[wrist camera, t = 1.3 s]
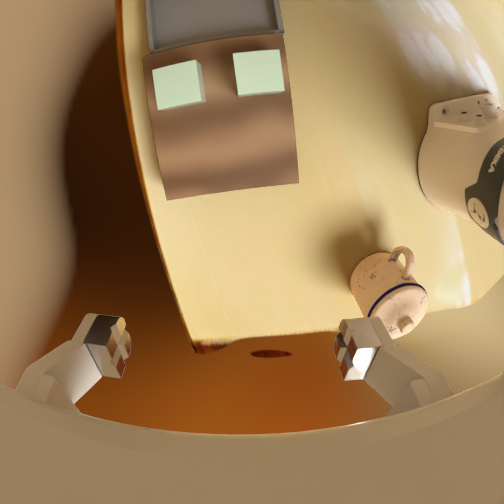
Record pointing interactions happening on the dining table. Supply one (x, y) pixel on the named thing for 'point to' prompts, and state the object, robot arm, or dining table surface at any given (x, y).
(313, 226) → the dining table surface
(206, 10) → the charcoal tray
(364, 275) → the teacup with lid
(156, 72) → the mint block
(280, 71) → the mint block
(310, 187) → the dining table surface
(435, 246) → the dining table surface
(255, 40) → the walnut bench
